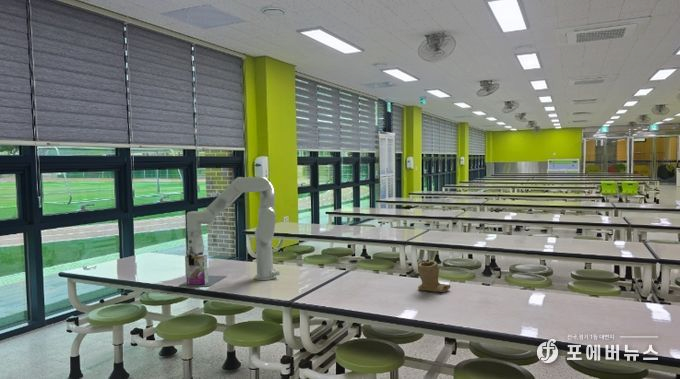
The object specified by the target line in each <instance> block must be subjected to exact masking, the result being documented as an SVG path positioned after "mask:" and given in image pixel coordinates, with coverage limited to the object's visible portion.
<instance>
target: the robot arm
mask: <svg viewBox="0 0 680 379" xmlns="http://www.w3.org/2000/svg"><path fill="white" fill-rule="evenodd" d="M257 192H258V193H259V194H260V196H259V197H260V198H259V205H258V206H259V207H258V211H257V212H258V213H257V217H258V223H257V227H256V228H255V230H254V238H255V254H256V275H255V276H254V279H255V280H257V281H269V280H273V279H275V278H277V276H280V275H281V272H280V271H276V269H275V268H274V257H273V255H274V254H273V250H274V249H273V238H274V234H275V228H276V222H277V221H276V220H277V213H276V212H275V201H276V191H275V188H274V186H273V184H272V183H271V182H270V181H269V179H268V178H267V177H265V176H262V175H260V176H251V177H249V176H248V177H246V176H244V177H243V176H237V177H236V178H234V180H233V181H231V182H230V184H228V185H227V186H226V188H224V190H222V192H221V193H219V194H218V196H217V197H216V198H215V199H214V200H213V201H212V202H211V203H210V204H209V205H208V206H207V207H206V208H205V209H204V210H203V211H197V210H191V211H188V212H187V213H186V223H187V224H186V225H187V226H186V227H187V230H186V231H187V250H186V252H185V253H186V256H188V260H189V265H194V258H193V257H194V255H204V250H205V245H204V238H203V234H202V225H210V224H212V223H213V222H214V221H215V220H216V217H217V216H218V215H219V214H220V213H221V212H222V211H223V210H225V209H226V208H228V207H230V206H231V205H232V204H233V203H234V202H235V201H236V200H238V198H239V197H240V196H241V195H242V194H243V193H257Z"/></svg>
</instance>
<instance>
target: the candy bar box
mask: <svg viewBox="0 0 680 379" xmlns="http://www.w3.org/2000/svg"><path fill="white" fill-rule="evenodd" d="M193 258H194V265H189V260H188V256H187V255H185V275H186V276H185V277H186V278H185V279H186V282H187V284H193V285H194V284H195V285H205V284H207V283H208V276H209V271H208V268H209V267H208V255H207V254H203V255H198V254H194V257H193Z"/></svg>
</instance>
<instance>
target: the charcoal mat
mask: <svg viewBox="0 0 680 379" xmlns="http://www.w3.org/2000/svg"><path fill="white" fill-rule="evenodd" d="M225 278H227V275H208V283H207V284H205V285H195V284H194V285H193V284H187V281H185V282H183V283H181V284H179V287H195V288H196V287H197V288H198V287H199V288H201V287H202V288H209V287H211V286H213V285H214V284H217V283H218V282H220V281H221V280H223V279H225Z"/></svg>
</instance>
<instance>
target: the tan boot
mask: <svg viewBox="0 0 680 379" xmlns="http://www.w3.org/2000/svg"><path fill="white" fill-rule="evenodd" d="M417 272H418V275H419V277H420V280H421V284H419V285H418V286H417V289H418V290H420V291H426V292H427V291H428V292H437V293H445V292H447V291H449V290H450V288H451V285H450V284H445V283H440V282H439V275H440V274H439V273H440V267H439V264H438V262H436V260H435V261H434V260H431V261H430V260H429V261H422V262H420V263H419V264H418V265H417Z"/></svg>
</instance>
